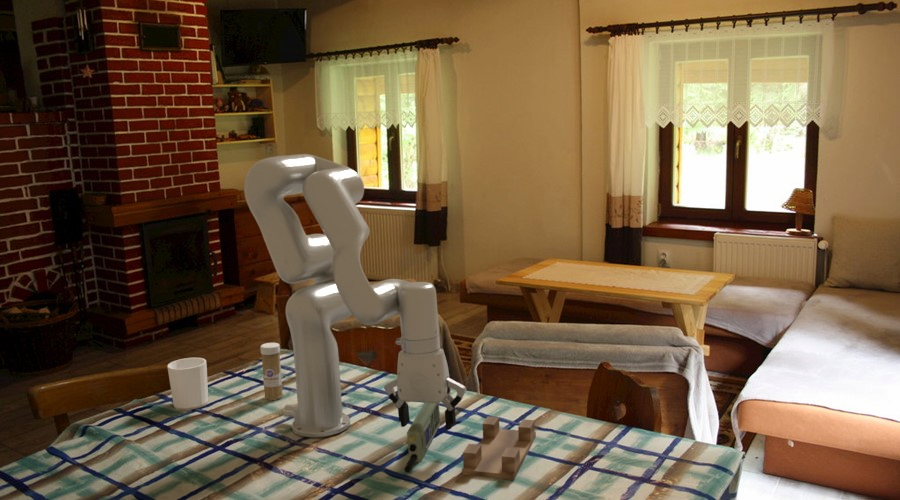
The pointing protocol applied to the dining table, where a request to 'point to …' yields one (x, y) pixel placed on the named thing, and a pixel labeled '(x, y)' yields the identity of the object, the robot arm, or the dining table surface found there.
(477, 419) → the dining table surface
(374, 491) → the dining table surface
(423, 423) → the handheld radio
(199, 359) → the mug
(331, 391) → the robot arm
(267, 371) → the sprinkles bottle
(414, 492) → the dining table surface
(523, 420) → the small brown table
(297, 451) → the dining table surface
